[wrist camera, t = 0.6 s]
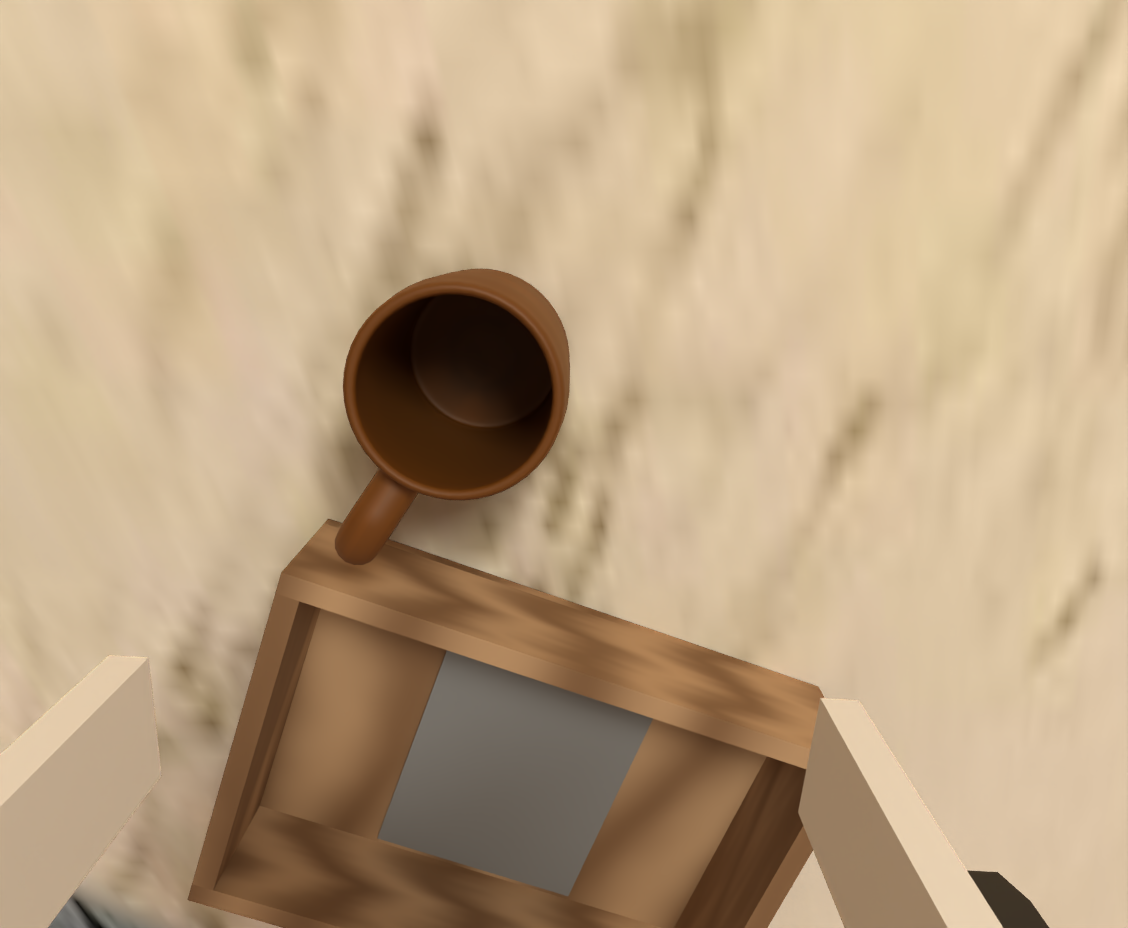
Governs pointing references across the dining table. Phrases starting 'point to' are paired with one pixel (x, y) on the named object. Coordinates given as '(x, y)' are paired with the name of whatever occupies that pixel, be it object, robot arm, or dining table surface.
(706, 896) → the crate
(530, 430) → the mug
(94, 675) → the robot arm
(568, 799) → the pad
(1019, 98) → the dining table surface
